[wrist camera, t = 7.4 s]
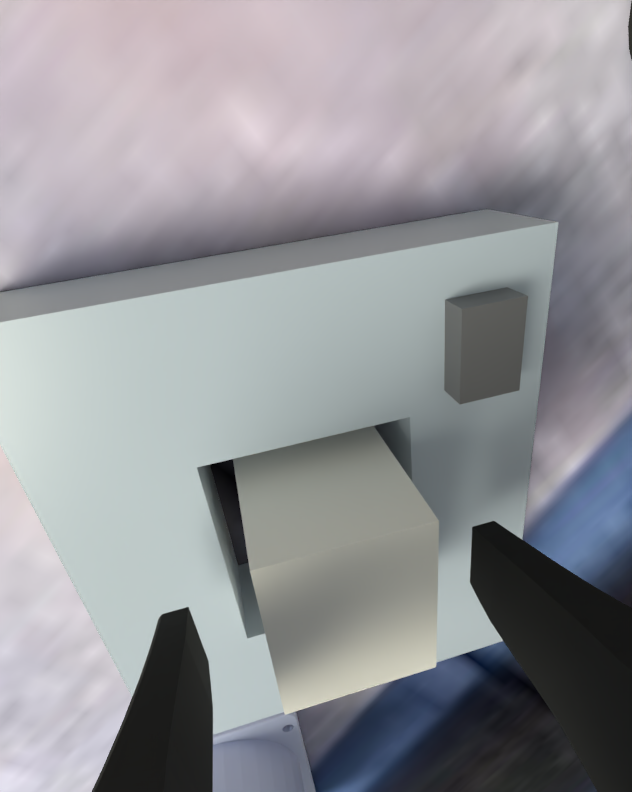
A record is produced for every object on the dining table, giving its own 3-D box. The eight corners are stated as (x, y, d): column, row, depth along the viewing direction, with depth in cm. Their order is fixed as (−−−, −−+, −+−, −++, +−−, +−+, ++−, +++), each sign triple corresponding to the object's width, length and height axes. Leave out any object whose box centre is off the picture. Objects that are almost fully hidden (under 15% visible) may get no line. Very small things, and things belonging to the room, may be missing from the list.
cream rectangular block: (362, 515, 18) (436, 666, 12) (254, 542, 17) (284, 714, 12) (352, 395, 15) (439, 520, 10) (227, 422, 15) (250, 570, 9)
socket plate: (470, 577, 21) (524, 657, 17) (164, 668, 19) (159, 778, 15) (487, 209, 14) (583, 226, 10) (-3, 292, 12) (-79, 347, 8)
